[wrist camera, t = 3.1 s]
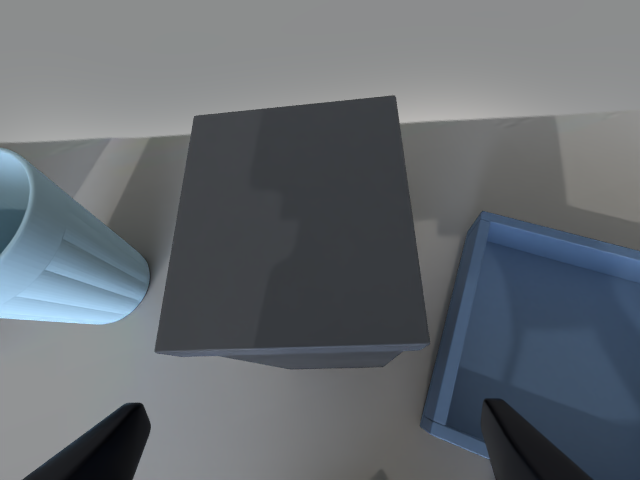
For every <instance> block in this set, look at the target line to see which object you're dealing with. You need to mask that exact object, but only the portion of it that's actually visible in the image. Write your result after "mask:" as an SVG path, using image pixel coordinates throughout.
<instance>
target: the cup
mask: <svg viewBox="0 0 640 480" xmlns="http://www.w3.org/2000/svg"><path fill="white" fill-rule="evenodd" d="M149 280H150V273H149V268H148V264H147V262H146V260H145V259H144V258H143V257H142V256H141V254H140V253H139V252H137V251H136V250H135V249H134V248H133V247H131V246H130V245H129V244H128V243H127V242H125V241H124V240H123V239H122V238H121V237H119V236H118V235H117V234H116V233H114V232H113V231H112V230H111V229H109V228H108V227H107V226H106V225H105V224H103V223H102V222H101V221H100V220H98V219H97V218H96V217H95V216H94V215H92V214H91V213H90V212H89V211H87V210H86V209H85V208H84V207H83V206H81V205H80V204H79V203H78V202H76V201H75V200H74V199H73V198H71V197H70V196H69V195H68V194H67V193H65V192H64V191H63V190H62V189H60V188H59V187H58V186H57V185H56V184H55V183H54V182H52V181H51V180H50V179H49V178H47V177H46V176H45V175H44V174H43V173H41V172H40V171H39V170H38V169H37V168H35V167H34V166H33V165H32V164H30V163H29V162H28V161H27V160H26V159H24V158H23V157H22V156H20V155H19V154H17V153H15V152H13V151H11V150H8V149H5V148H0V318H8V319H23V320H39V321H54V322H69V323H84V324H107V323H111V322H115V321H118V320H120V319H122V318H124V317H125V316H127V315H128V314H130V313H131V312H132V311H133V310H134V309H135V308H136V307H137V306H138V305H139V303H140V302H141V301H142V299H143V297H144V296H145V294H146V292H147V289H148V285H149Z"/></svg>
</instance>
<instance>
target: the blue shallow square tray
mask: <svg viewBox="0 0 640 480" xmlns="http://www.w3.org/2000/svg"><path fill="white" fill-rule="evenodd" d="M486 398H500V399H503V400H504V401H505V402H506V403H508V404H509V405H510V406H511V407H512V408H513V409H514V410H516V411H517V412H518V413H519V414H520V415H521V416H522V417H523V418H525V419H526V420H527V421H528V422H529V423H530V424H531V425H532V426H534V427H535V428H536V429H537V430H538V431H539V432H540V433H541V434H543V435H544V436H545V437H546V438H547V439H548V440H549V441H551V442H552V443H553V444H554V445H555V446H556V447H557V448H558V449H560V450H561V451H562V452H563V453H564V454H565V455H566V456H567V457H569V458H570V459H571V460H572V461H573V462H574V463H575V464H576V465H578V466H579V467H580V468H581V469H582V470H583V471H584V472H586V473H587V474H588V475H589V476H590V477H591V478H592V479H593V480H640V251H638V250H634V249H630V248H626V247H622V246H618V245H614V244H610V243H606V242H602V241H599V240H595V239H591V238H587V237H583V236H579V235H575V234H571V233H567V232H563V231H560V230H556V229H552V228H548V227H544V226H540V225H536V224H532V223H528V222H524V221H521V220H517V219H513V218H509V217H505V216H501V215H497V214H493V213H489V212H485V211H482V212H481V213H480V215H479V216H478V218H477V219H476V221H475V222H474V223H473V225H472V226H471V228H470V229H469V231H468V232H467V236H466V240H465V244H464V248H463V252H462V257H461V261H460V265H459V269H458V273H457V277H456V281H455V285H454V289H453V293H452V297H451V301H450V305H449V309H448V313H447V317H446V322H445V326H444V330H443V334H442V338H441V342H440V346H439V350H438V354H437V358H436V362H435V366H434V370H433V374H432V378H431V382H430V386H429V391H428V395H427V399H426V403H425V407H424V411H423V415H422V419H421V423H420V427H421V428H423V429H424V430H425V431H427V432H428V433H429V434H431V435H433V436H435V437H437V438H440V439H442V440H444V441H447V442H449V443H451V444H454V445H456V446H459V447H461V448H463V449H466V450H468V451H470V452H473V453H475V454H477V455H480V456H482V457H484V458H487V459H489V460H490V458H489V455H488V451H487V448H486V445H485V441H484V438H483V435H482V431H481V424H480V422H481V413H482V404H483V400H484V399H486Z"/></svg>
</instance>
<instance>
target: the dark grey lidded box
mask: <svg viewBox="0 0 640 480" xmlns="http://www.w3.org/2000/svg"><path fill="white" fill-rule="evenodd" d="M429 344H430V339H429V332H428V324H427V317H426V310H425V303H424V296H423V289H422V281H421V274H420V267H419V260H418V253H417V246H416V238H415V231H414V224H413V217H412V210H411V203H410V195H409V188H408V181H407V174H406V167H405V159H404V152H403V145H402V138H401V131H400V124H399V117H398V109H397V102H396V97H395V96H385V97H374V98H365V99H355V100H345V101H335V102H326V103H317V104H306V105H296V106H286V107H277V108H267V109H257V110H247V111H238V112H228V113H218V114H208V115H199V116H194V120H193V126H192V132H191V137H190V143H189V149H188V155H187V161H186V167H185V173H184V179H183V185H182V191H181V197H180V203H179V209H178V215H177V220H176V226H175V232H174V238H173V244H172V250H171V256H170V262H169V268H168V274H167V280H166V286H165V292H164V298H163V303H162V309H161V315H160V321H159V327H158V333H157V339H156V345H155V353H159V354H165V355H172V356H179V357H192V356H221V357H227V358H232V359H237V360H243V361H248V362H253V363H259V364H264V365H270V366H275V367H280V368H286V369H322V368H367V367H384V366H385V365H386V364H387V363H389V362H390V361H391V360H393V359H394V358H395V357H396V356H398V355H399V354H400V353H401V352H403V351H414V350H421V349H423V348H424V347H426V346H428V345H429Z"/></svg>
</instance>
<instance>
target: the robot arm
mask: <svg viewBox="0 0 640 480" xmlns="http://www.w3.org/2000/svg"><path fill="white" fill-rule="evenodd" d="M480 424H481V431H482V435H483V438H484V441H485V445H486V448H487V451H488V455H489V458H490V462H491V465H492V468H493V472H494V475H495V478H496V480H593V479H592V478H591V477H590V476H589V475H588V474H587V473H586V472H584V471H583V470H582V469H581V468H580V467H579V466H578V465H576V464H575V463H574V462H573V461H572V460H571V459H570V458H569V457H567V456H566V455H565V454H564V453H563V452H562V451H561V450H560V449H558V448H557V447H556V446H555V445H554V444H553V443H552V442H551V441H549V440H548V439H547V438H546V437H545V436H544V435H543V434H541V433H540V432H539V431H538V430H537V429H536V428H535V427H534V426H532V425H531V424H530V423H529V422H528V421H527V420H526V419H525V418H523V417H522V416H521V415H520V414H519V413H518V412H517V411H516V410H514V409H513V408H512V407H511V406H510V405H509V404H508V403H506V402H505V401H504V400H503V399H500V398H486V399H484V400H483V404H482V413H481V422H480ZM150 430H151V424H150V421H149V418H148V416H147V413H146V411H145V408H144V406H143V404H141V403H126V404H124V405H123V406H121V407H120V408H118V409H117V410H116V411H114V412H113V413H112V414H110V415H109V416H108V417H106V418H105V419H104V420H102V421H101V422H99V423H98V424H97V425H95V426H94V427H93V428H91V429H90V430H89V431H87V432H86V433H85V434H83V435H82V436H81V437H79V438H78V439H77V440H75V441H74V442H72V443H71V444H70V445H68V446H67V447H66V448H64V449H63V450H62V451H60V452H59V453H58V454H56V455H55V456H54V457H52V458H51V459H49V460H48V461H47V462H45V463H44V464H43V465H41V466H40V467H39V468H37V469H36V470H35V471H33V472H32V473H31V474H29V475H28V476H27V477H25V478H24V479H22V480H133V477H134V474H135V472H136V469H137V466H138V463H139V461H140V458H141V455H142V453H143V450H144V447H145V445H146V442H147V439H148V437H149V434H150Z"/></svg>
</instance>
